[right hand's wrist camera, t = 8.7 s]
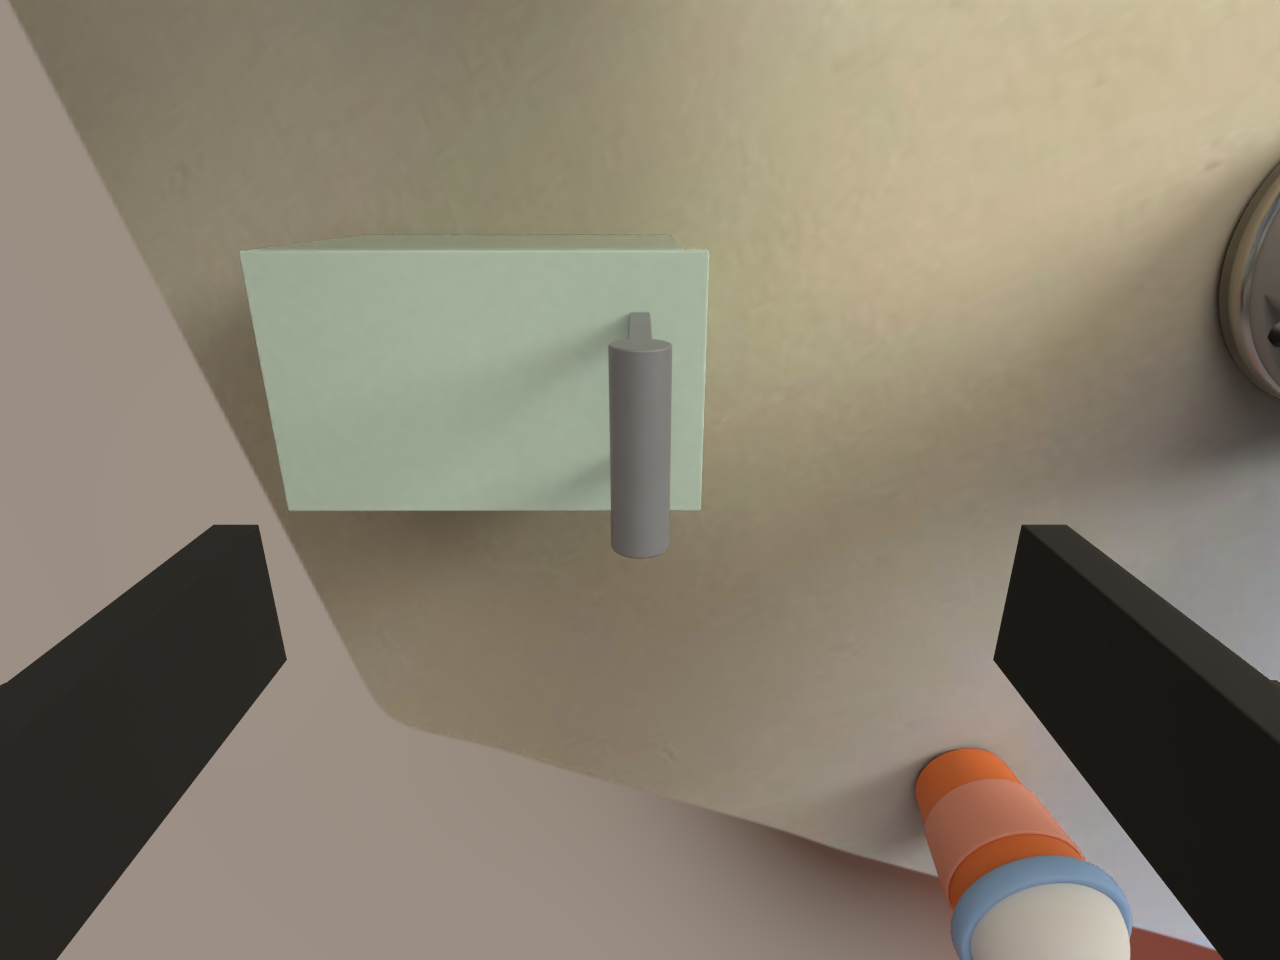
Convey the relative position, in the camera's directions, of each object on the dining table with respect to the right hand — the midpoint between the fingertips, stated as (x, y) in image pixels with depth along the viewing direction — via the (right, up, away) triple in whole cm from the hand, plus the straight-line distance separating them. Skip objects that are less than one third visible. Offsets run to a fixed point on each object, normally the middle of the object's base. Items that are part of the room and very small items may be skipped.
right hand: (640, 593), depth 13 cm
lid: (-6, +6, +14) cm, 16 cm away
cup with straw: (+21, -18, +35) cm, 45 cm away
